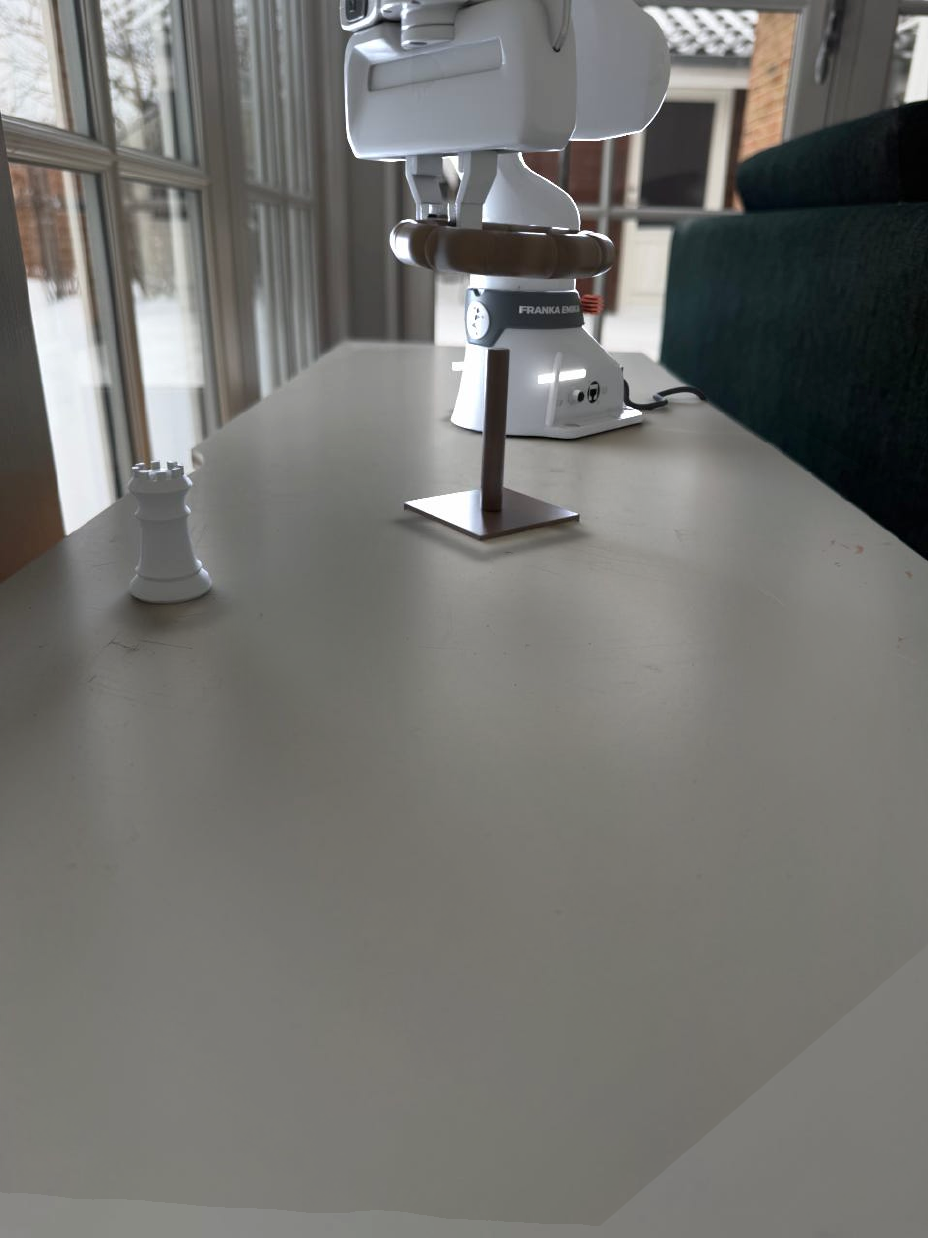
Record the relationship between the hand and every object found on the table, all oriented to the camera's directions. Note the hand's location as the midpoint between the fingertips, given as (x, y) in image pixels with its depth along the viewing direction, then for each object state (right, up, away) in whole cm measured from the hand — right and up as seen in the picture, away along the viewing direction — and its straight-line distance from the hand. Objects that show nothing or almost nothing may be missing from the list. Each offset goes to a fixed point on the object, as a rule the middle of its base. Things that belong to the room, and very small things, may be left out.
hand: (448, 232), depth 59 cm
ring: (+3, -3, -4) cm, 6 cm away
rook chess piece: (-15, -25, -10) cm, 31 cm away
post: (+3, -19, +5) cm, 20 cm away
